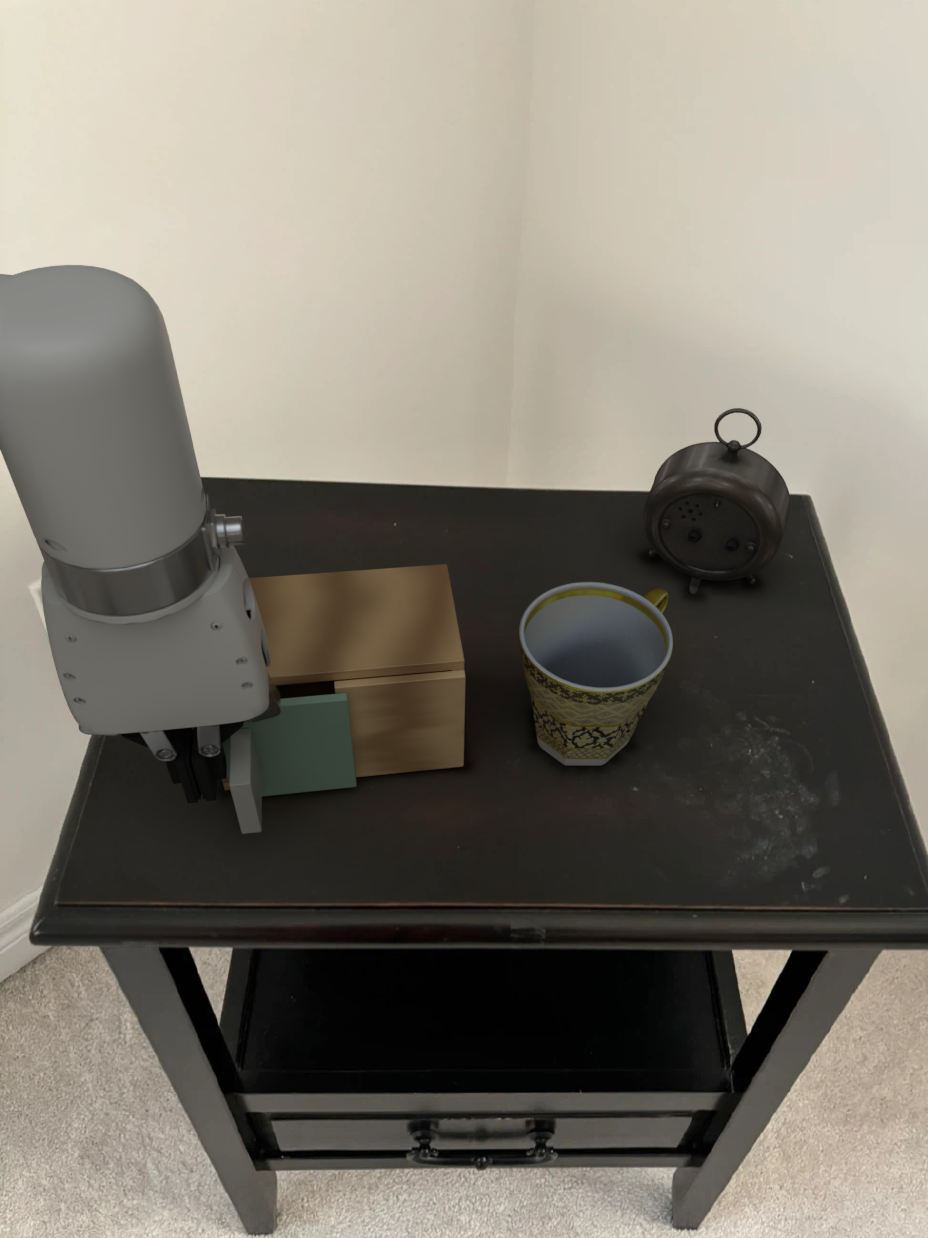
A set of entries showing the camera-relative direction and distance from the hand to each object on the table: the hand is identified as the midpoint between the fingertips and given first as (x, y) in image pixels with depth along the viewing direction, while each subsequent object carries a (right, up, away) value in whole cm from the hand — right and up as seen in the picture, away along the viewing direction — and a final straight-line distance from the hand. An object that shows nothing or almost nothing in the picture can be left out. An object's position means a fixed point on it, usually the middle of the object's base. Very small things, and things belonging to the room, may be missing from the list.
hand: (203, 782), depth 61 cm
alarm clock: (+34, +15, +24) cm, 44 cm away
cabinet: (+6, +3, +11) cm, 13 cm away
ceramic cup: (+24, +3, +13) cm, 28 cm away
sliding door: (+4, -3, +5) cm, 7 cm away
